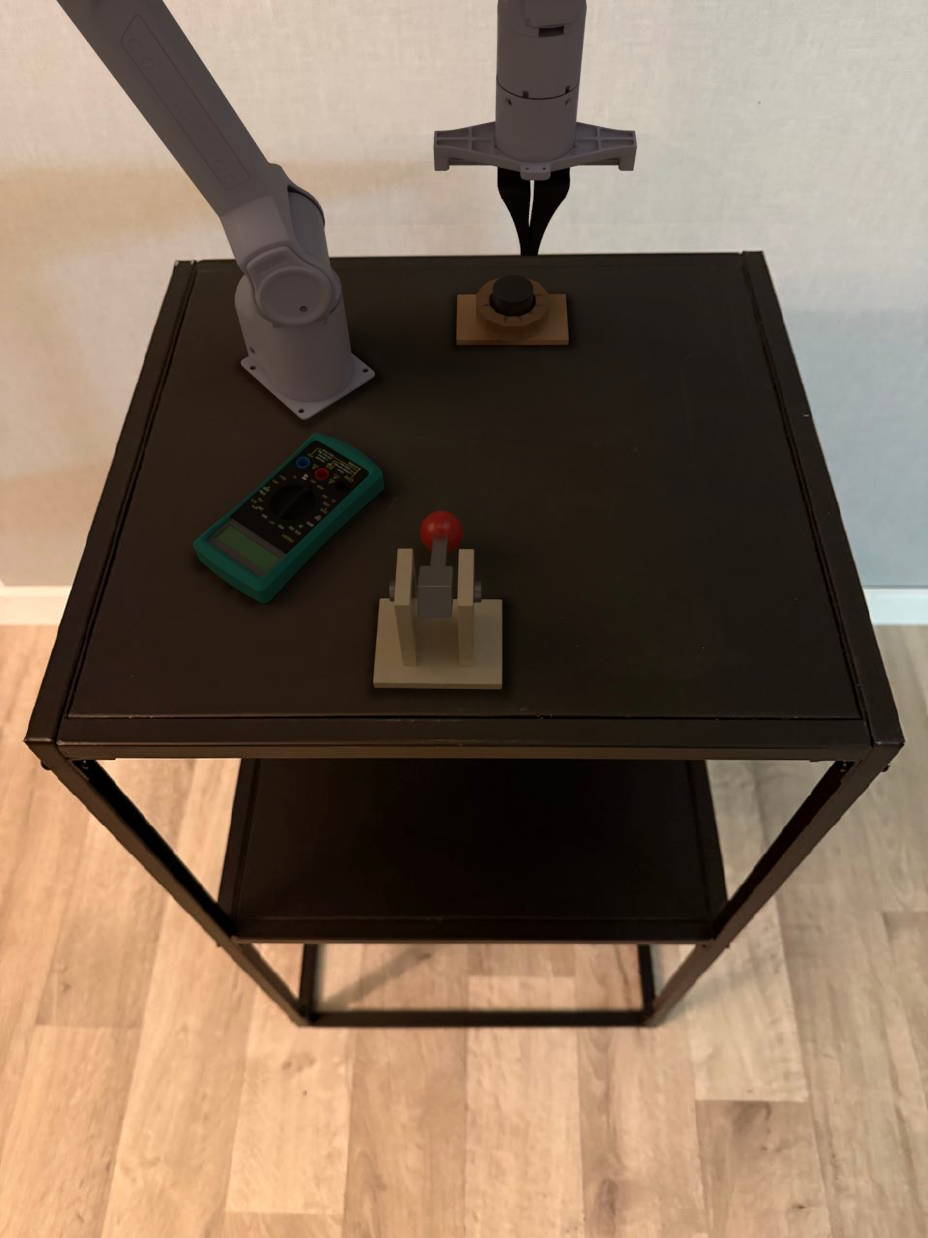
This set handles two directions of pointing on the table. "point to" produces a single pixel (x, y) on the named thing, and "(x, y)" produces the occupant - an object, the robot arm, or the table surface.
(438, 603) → the switch lever
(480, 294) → the button block
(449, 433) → the table surface
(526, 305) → the button
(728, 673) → the table surface
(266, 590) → the digital multimeter
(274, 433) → the table surface
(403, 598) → the switch bracket
